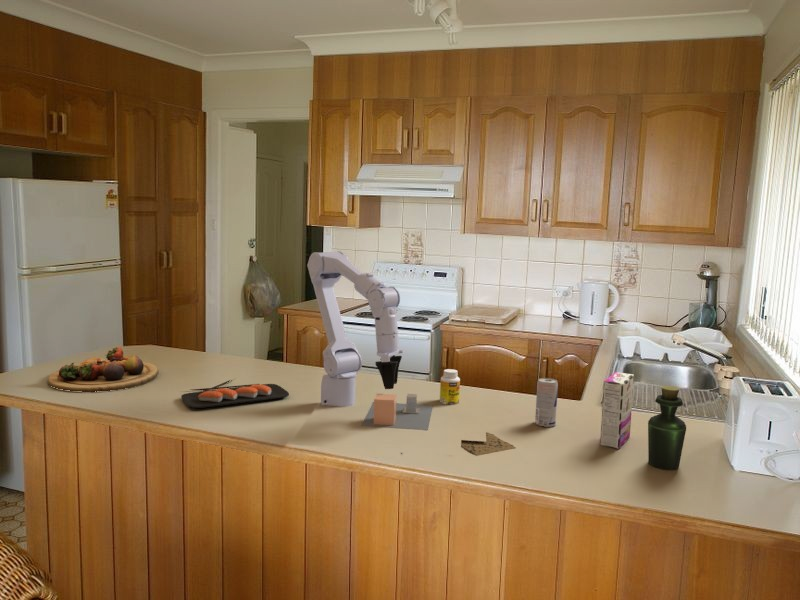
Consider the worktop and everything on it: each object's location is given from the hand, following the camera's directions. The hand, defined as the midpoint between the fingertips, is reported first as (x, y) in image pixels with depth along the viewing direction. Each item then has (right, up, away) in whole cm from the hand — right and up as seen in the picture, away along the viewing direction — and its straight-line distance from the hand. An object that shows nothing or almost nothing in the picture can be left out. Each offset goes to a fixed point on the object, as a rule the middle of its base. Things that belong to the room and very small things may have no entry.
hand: (391, 386), depth 172 cm
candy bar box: (+56, -13, -6) cm, 58 cm away
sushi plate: (-49, -6, +27) cm, 56 cm away
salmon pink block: (-2, -9, +1) cm, 9 cm away
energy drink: (+41, -11, +5) cm, 43 cm away
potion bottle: (+62, -15, -21) cm, 67 cm away
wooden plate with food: (-91, -3, +38) cm, 99 cm away
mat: (+2, -10, +6) cm, 12 cm away
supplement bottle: (+17, -8, +20) cm, 27 cm away
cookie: (+22, -13, -11) cm, 28 cm away
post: (+5, -8, +10) cm, 14 cm away
